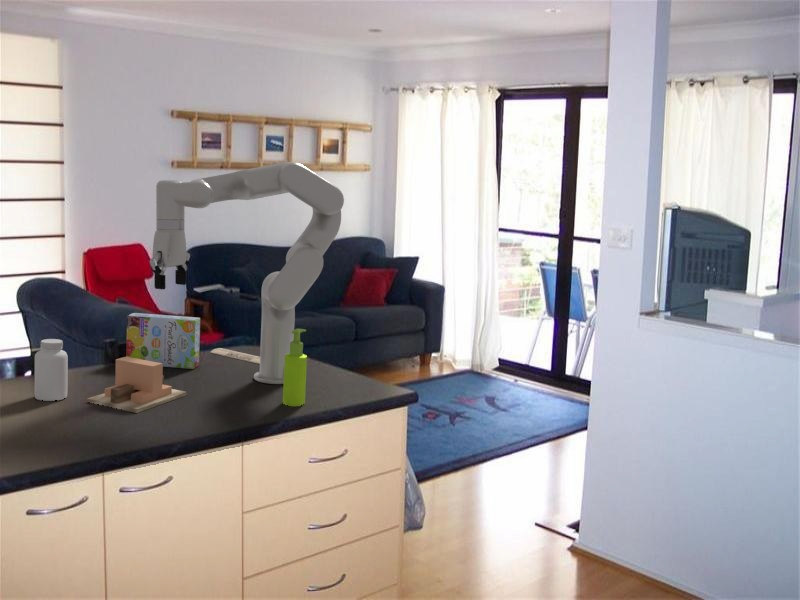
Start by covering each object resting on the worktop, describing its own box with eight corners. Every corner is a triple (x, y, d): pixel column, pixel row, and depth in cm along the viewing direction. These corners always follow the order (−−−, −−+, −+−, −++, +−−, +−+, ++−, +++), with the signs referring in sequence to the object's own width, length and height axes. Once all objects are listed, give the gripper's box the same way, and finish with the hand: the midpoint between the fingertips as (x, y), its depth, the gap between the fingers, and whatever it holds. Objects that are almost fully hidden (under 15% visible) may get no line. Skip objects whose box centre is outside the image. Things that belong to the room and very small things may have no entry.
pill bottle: (74, 396, 239) (74, 340, 237) (50, 403, 232) (50, 345, 229) (51, 391, 242) (51, 336, 240) (27, 398, 235) (27, 341, 233)
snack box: (199, 365, 280) (201, 317, 277) (193, 370, 274) (195, 320, 272) (132, 359, 282) (133, 311, 279) (125, 364, 276) (125, 314, 274)
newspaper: (278, 364, 290) (279, 359, 289) (264, 368, 284) (264, 362, 283) (223, 352, 302) (223, 346, 302) (207, 355, 296) (207, 350, 296)
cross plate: (171, 393, 244) (172, 360, 243) (141, 403, 233) (142, 369, 232) (135, 386, 249) (136, 353, 247) (104, 396, 238) (105, 362, 236)
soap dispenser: (310, 401, 249) (313, 328, 245) (298, 407, 242) (302, 333, 239) (290, 398, 250) (293, 326, 247) (278, 404, 244) (282, 330, 241)
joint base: (186, 395, 247) (186, 379, 246) (137, 413, 229) (137, 395, 228) (138, 385, 253) (139, 369, 252) (86, 402, 235) (87, 385, 234)
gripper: (177, 222, 263) (177, 281, 266) (139, 226, 247) (140, 289, 250) (199, 224, 260) (199, 284, 263) (163, 228, 244) (163, 292, 247)
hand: (170, 286), depth 257 cm, fingers open, 9 cm apart
